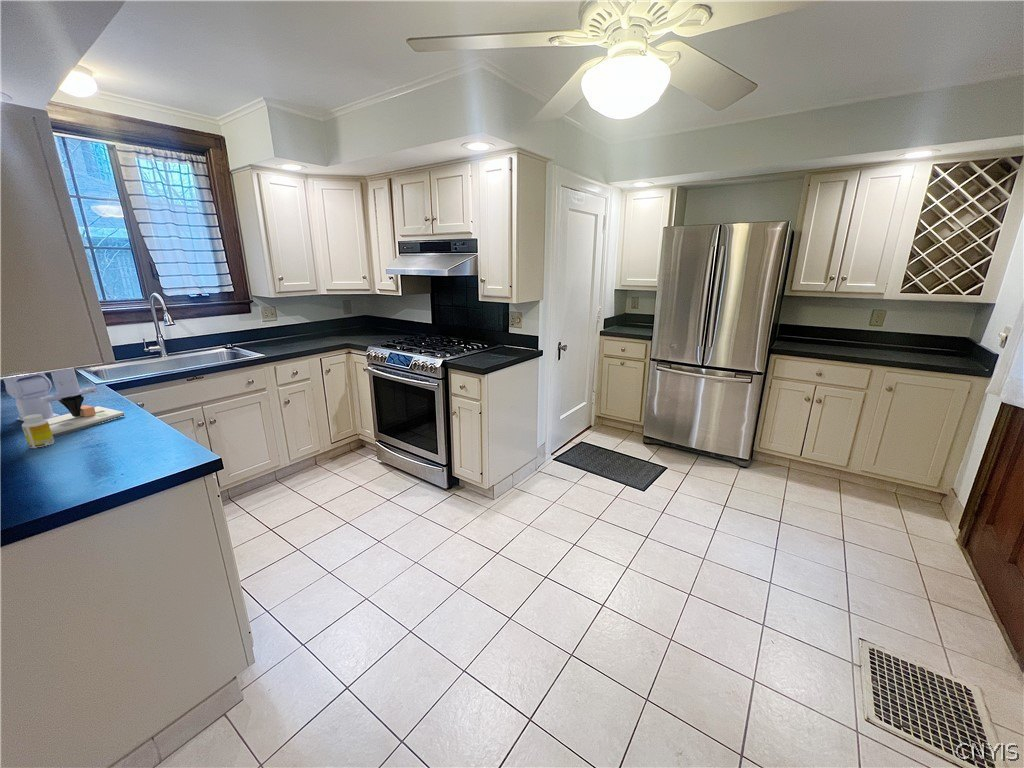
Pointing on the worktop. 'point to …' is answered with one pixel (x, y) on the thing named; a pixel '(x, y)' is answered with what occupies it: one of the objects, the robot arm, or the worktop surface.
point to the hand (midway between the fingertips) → (76, 416)
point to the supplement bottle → (37, 431)
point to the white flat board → (81, 420)
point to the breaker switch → (87, 410)
